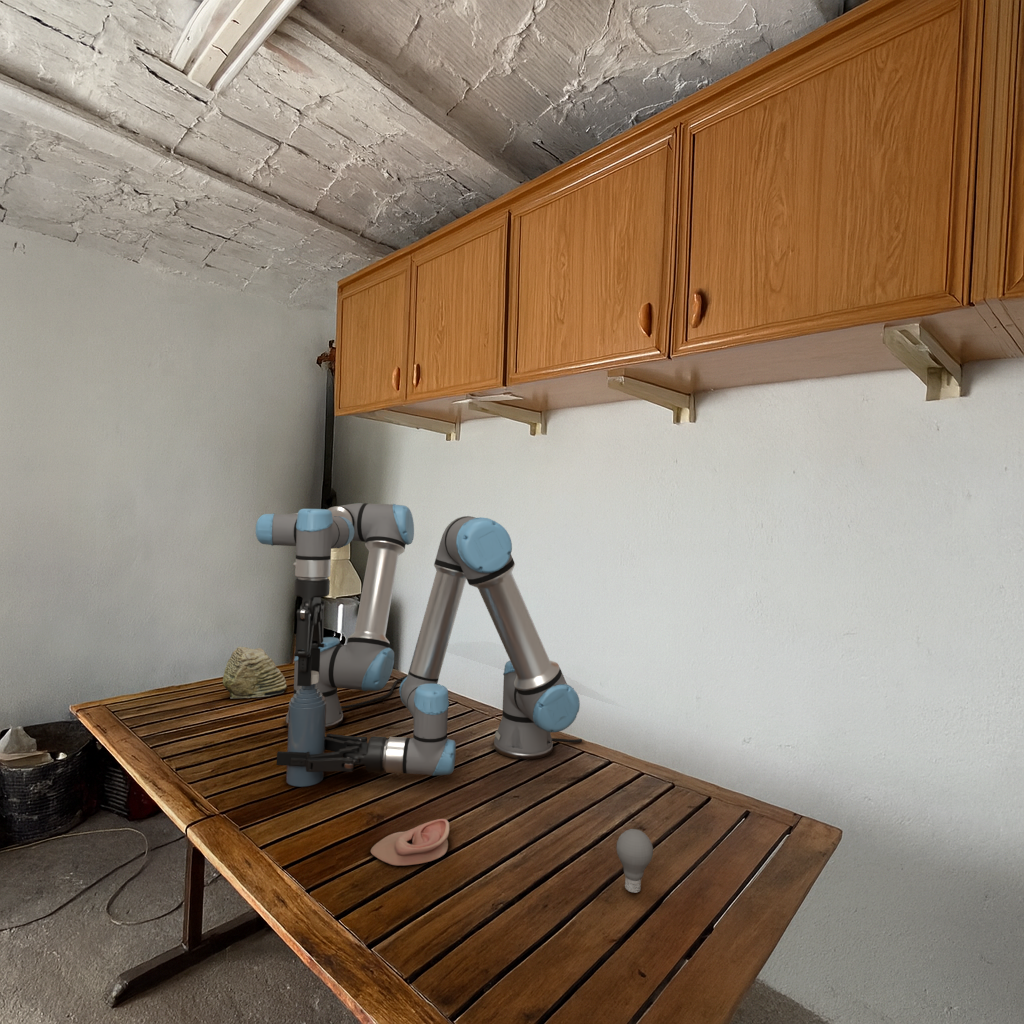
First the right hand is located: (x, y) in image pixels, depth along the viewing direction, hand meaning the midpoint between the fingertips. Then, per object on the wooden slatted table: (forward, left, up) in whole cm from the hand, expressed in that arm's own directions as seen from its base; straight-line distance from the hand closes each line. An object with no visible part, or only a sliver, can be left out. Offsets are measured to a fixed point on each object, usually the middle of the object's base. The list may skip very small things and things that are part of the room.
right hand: (284, 750), depth 142 cm
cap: (-4, +2, +17) cm, 18 cm away
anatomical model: (-18, +38, -6) cm, 43 cm away
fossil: (+3, -63, -6) cm, 64 cm away
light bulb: (-50, +63, -6) cm, 80 cm away
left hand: (-4, +2, +16) cm, 17 cm away
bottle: (-4, +2, -6) cm, 8 cm away
